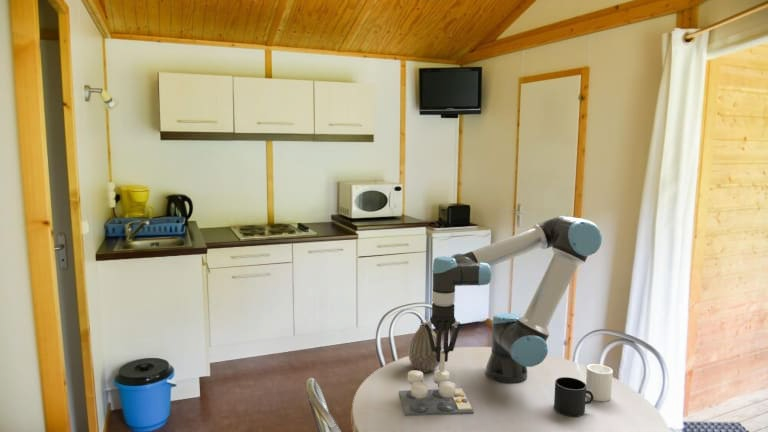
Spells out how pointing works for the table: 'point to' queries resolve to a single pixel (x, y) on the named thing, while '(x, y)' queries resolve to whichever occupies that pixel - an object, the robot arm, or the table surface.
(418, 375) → the button
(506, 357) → the robot arm
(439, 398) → the board
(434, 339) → the vase
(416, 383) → the button
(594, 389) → the mug
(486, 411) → the table surface
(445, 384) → the button
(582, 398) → the mug
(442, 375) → the button
